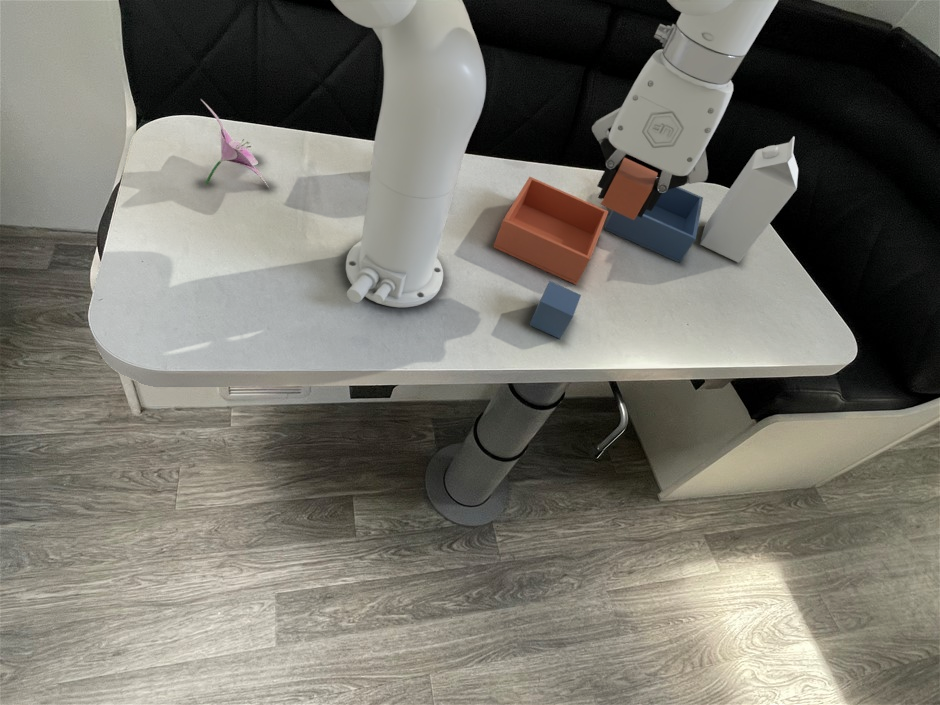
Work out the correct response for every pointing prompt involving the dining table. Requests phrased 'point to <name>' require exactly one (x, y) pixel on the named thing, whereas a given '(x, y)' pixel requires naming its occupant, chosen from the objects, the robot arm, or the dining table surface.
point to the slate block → (555, 310)
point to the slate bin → (662, 224)
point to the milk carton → (752, 201)
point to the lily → (233, 151)
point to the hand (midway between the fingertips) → (622, 201)
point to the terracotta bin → (551, 230)
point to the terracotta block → (629, 188)
